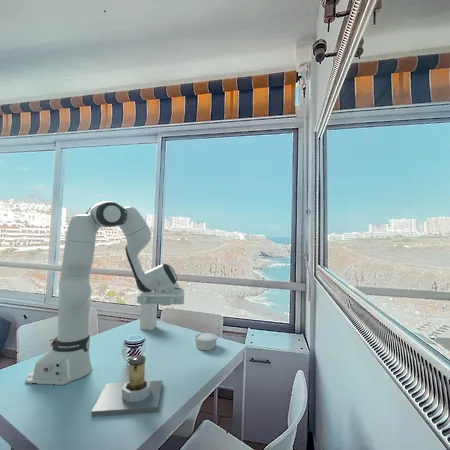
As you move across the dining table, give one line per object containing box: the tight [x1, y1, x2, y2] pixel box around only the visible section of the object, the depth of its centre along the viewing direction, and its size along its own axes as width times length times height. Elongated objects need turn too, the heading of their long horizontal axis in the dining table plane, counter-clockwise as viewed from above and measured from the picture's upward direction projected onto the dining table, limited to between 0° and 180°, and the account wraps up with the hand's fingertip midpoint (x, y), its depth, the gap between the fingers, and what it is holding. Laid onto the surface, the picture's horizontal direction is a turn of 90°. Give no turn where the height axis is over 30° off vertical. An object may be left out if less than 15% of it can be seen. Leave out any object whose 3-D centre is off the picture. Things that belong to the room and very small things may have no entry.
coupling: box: [128, 354, 146, 391], centre depth 96 cm, size 8×5×12 cm
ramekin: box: [194, 332, 218, 351], centre depth 140 cm, size 11×11×5 cm
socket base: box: [91, 377, 163, 417], centre depth 96 cm, size 20×16×4 cm
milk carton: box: [139, 304, 158, 331], centre depth 165 cm, size 7×7×19 cm
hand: (156, 302), depth 115 cm, fingers open, 8 cm apart
